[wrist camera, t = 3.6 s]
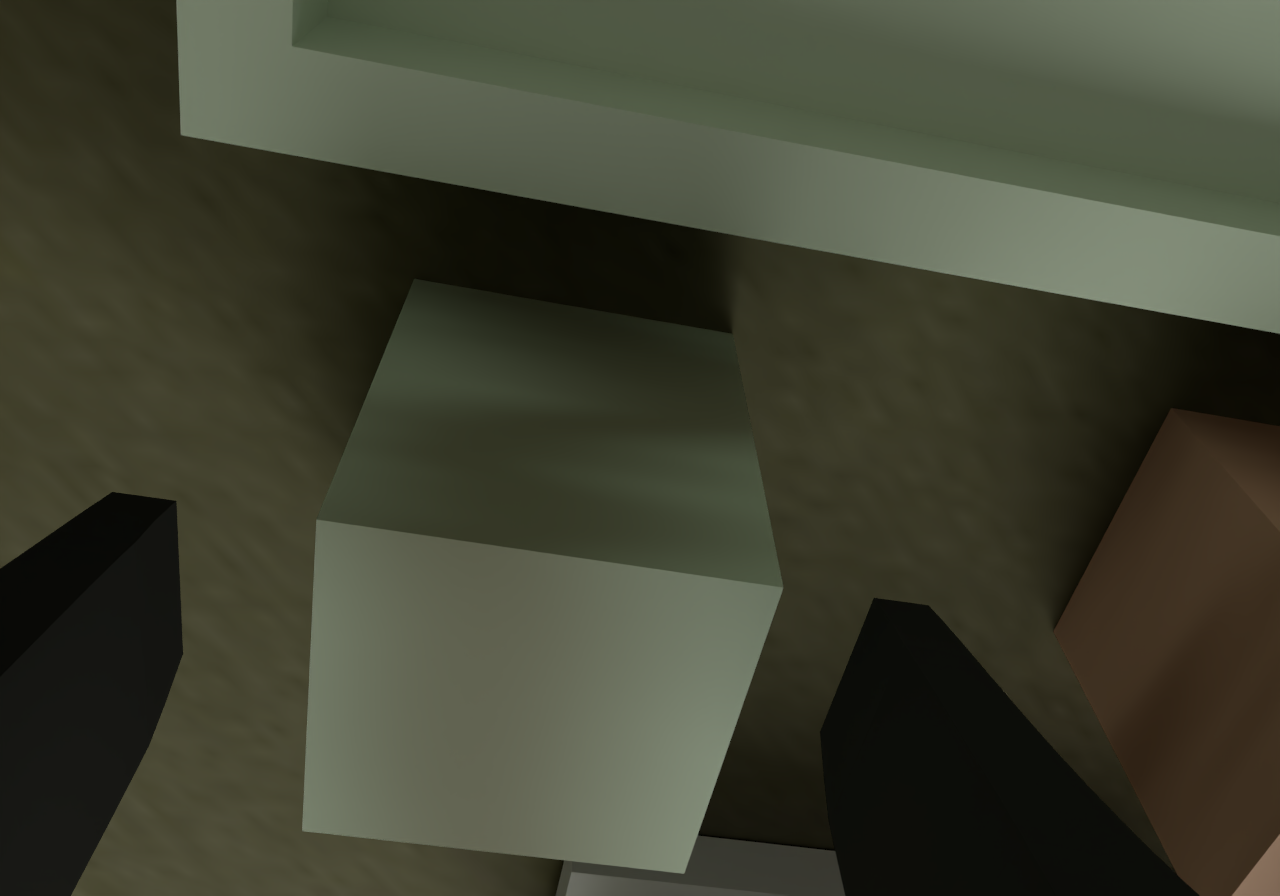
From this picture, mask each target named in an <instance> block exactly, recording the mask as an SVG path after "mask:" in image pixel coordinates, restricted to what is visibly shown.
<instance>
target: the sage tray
mask: <svg viewBox="0 0 1280 896" xmlns="http://www.w3.org/2000/svg"><path fill="white" fill-rule="evenodd" d="M176 4H177V34H178V64H179V94H180V124H181V135H184V136H189V137H195V138H200V139H206V140H211V141H217V142H222V143H228V144H233V145H239V146H244V147H250V148H256V149H261V150H267V151H272V152H278V153H283V154H289V155H294V156H300V157H305V158H311V159H316V160H322V161H327V162H333V163H338V164H344V165H350V166H355V167H361V168H366V169H372V170H377V171H383V172H388V173H394V174H399V175H405V176H410V177H416V178H421V179H427V180H432V181H438V182H444V183H449V184H455V185H460V186H466V187H471V188H477V189H482V190H488V191H493V192H499V193H504V194H510V195H515V196H521V197H526V198H532V199H538V200H543V201H549V202H554V203H560V204H565V205H571V206H576V207H582V208H587V209H593V210H598V211H604V212H609V213H615V214H621V215H626V216H632V217H637V218H643V219H648V220H654V221H659V222H665V223H670V224H676V225H681V226H687V227H692V228H698V229H703V230H709V231H715V232H720V233H726V234H731V235H737V236H742V237H748V238H753V239H759V240H764V241H770V242H775V243H781V244H786V245H792V246H797V247H803V248H809V249H814V250H820V251H825V252H831V253H836V254H842V255H847V256H853V257H858V258H864V259H869V260H875V261H880V262H886V263H891V264H897V265H903V266H908V267H914V268H919V269H925V270H930V271H936V272H941V273H947V274H952V275H958V276H963V277H969V278H974V279H980V280H985V281H991V282H997V283H1002V284H1008V285H1013V286H1019V287H1024V288H1030V289H1035V290H1041V291H1046V292H1052V293H1057V294H1063V295H1068V296H1074V297H1079V298H1085V299H1091V300H1096V301H1102V302H1107V303H1113V304H1118V305H1124V306H1129V307H1135V308H1140V309H1146V310H1151V311H1157V312H1162V313H1168V314H1173V315H1179V316H1185V317H1190V318H1196V319H1201V320H1207V321H1212V322H1218V323H1223V324H1229V325H1234V326H1240V327H1245V328H1251V329H1256V330H1262V331H1267V332H1273V333H1279V334H1280V0H176Z"/></svg>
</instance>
